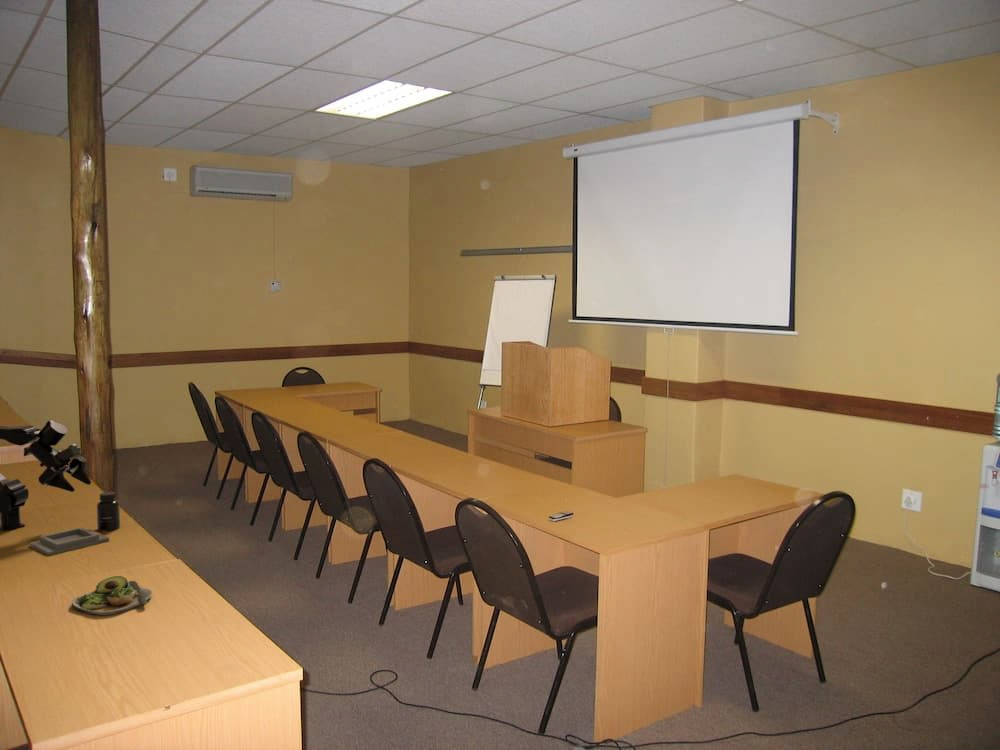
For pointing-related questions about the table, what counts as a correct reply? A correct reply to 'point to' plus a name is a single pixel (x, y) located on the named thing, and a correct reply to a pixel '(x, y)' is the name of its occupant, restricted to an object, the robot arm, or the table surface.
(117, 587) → the salad plate
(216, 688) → the table surface
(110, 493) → the supplement bottle
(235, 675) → the table surface
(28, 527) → the table surface
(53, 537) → the grey recessed tray
